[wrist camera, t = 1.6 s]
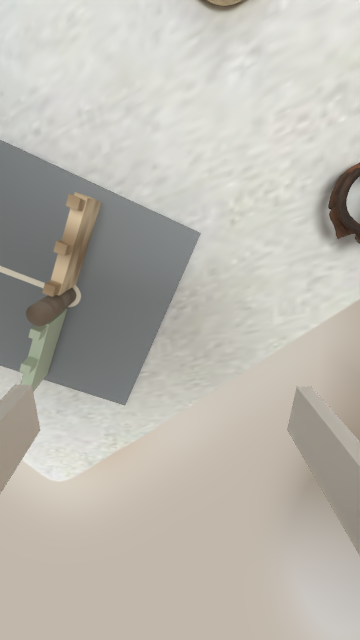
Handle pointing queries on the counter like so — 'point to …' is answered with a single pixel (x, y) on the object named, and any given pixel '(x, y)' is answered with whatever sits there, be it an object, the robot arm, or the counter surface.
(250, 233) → the counter surface
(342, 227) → the brown jagged ring
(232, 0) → the stacking toy
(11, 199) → the board
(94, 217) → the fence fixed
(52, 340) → the folding panel
